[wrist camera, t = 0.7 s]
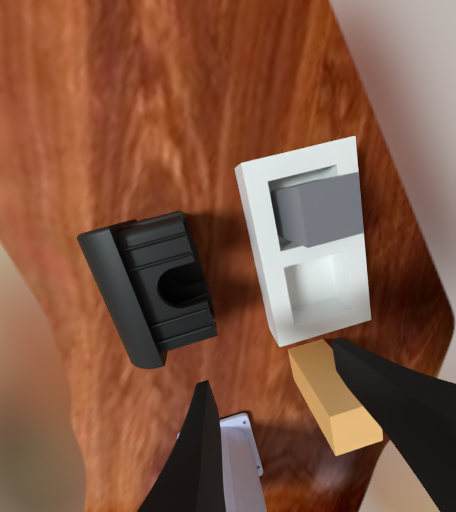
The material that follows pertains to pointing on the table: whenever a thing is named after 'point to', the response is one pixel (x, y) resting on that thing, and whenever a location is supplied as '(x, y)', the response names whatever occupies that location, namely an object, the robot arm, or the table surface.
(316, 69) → the table surface
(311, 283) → the socket strip
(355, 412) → the tan rectangular block
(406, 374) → the robot arm
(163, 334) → the end cap
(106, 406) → the table surface
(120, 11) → the table surface
